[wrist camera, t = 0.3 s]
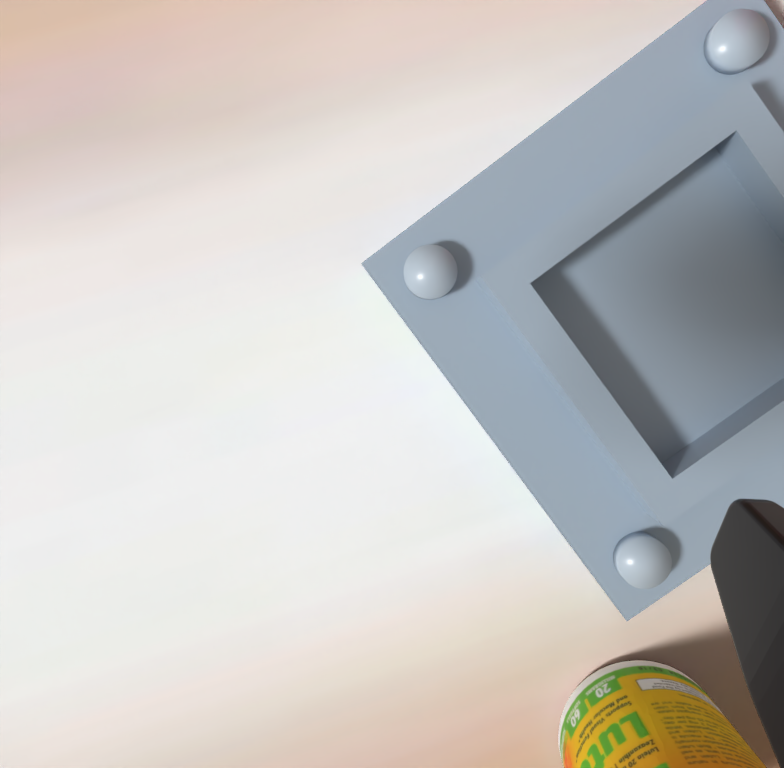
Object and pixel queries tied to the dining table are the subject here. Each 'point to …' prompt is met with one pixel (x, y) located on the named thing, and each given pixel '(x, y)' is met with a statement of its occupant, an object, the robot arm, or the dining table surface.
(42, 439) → the dining table surface
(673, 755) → the supplement bottle
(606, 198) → the base plate
